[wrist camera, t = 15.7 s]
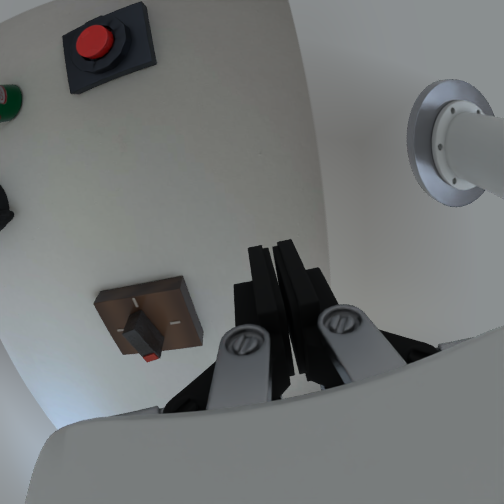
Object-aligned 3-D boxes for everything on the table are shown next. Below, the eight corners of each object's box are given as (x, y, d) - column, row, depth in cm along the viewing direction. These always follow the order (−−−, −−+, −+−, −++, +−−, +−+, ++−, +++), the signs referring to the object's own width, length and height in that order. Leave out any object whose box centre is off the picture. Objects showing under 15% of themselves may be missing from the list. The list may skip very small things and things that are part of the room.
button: (111, 23, 20) (105, 19, 18) (115, 51, 21) (109, 48, 20) (81, 37, 20) (74, 33, 18) (85, 64, 22) (78, 62, 20)
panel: (182, 275, 38) (179, 289, 35) (203, 331, 42) (202, 346, 39) (100, 291, 38) (92, 304, 35) (127, 341, 42) (122, 355, 40)
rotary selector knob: (129, 314, 36) (121, 335, 32) (141, 309, 36) (133, 330, 32) (152, 341, 39) (147, 363, 35) (164, 337, 38) (160, 359, 35)
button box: (146, 6, 22) (136, -5, 18) (157, 64, 26) (147, 58, 22) (70, 39, 22) (54, 33, 19) (79, 94, 26) (62, 93, 22)
